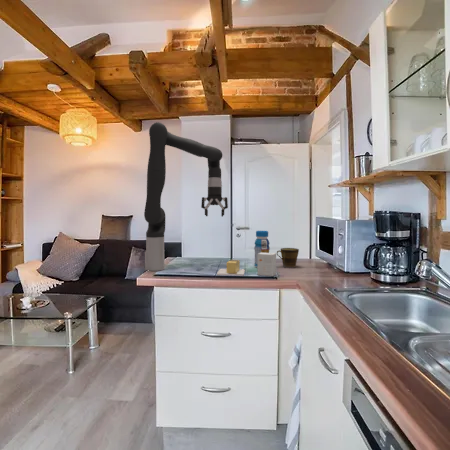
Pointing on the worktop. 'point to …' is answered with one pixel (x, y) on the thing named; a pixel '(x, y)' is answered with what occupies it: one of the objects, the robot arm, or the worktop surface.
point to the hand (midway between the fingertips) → (214, 216)
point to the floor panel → (224, 272)
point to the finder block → (233, 266)
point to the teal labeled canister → (261, 244)
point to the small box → (266, 264)
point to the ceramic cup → (289, 257)
